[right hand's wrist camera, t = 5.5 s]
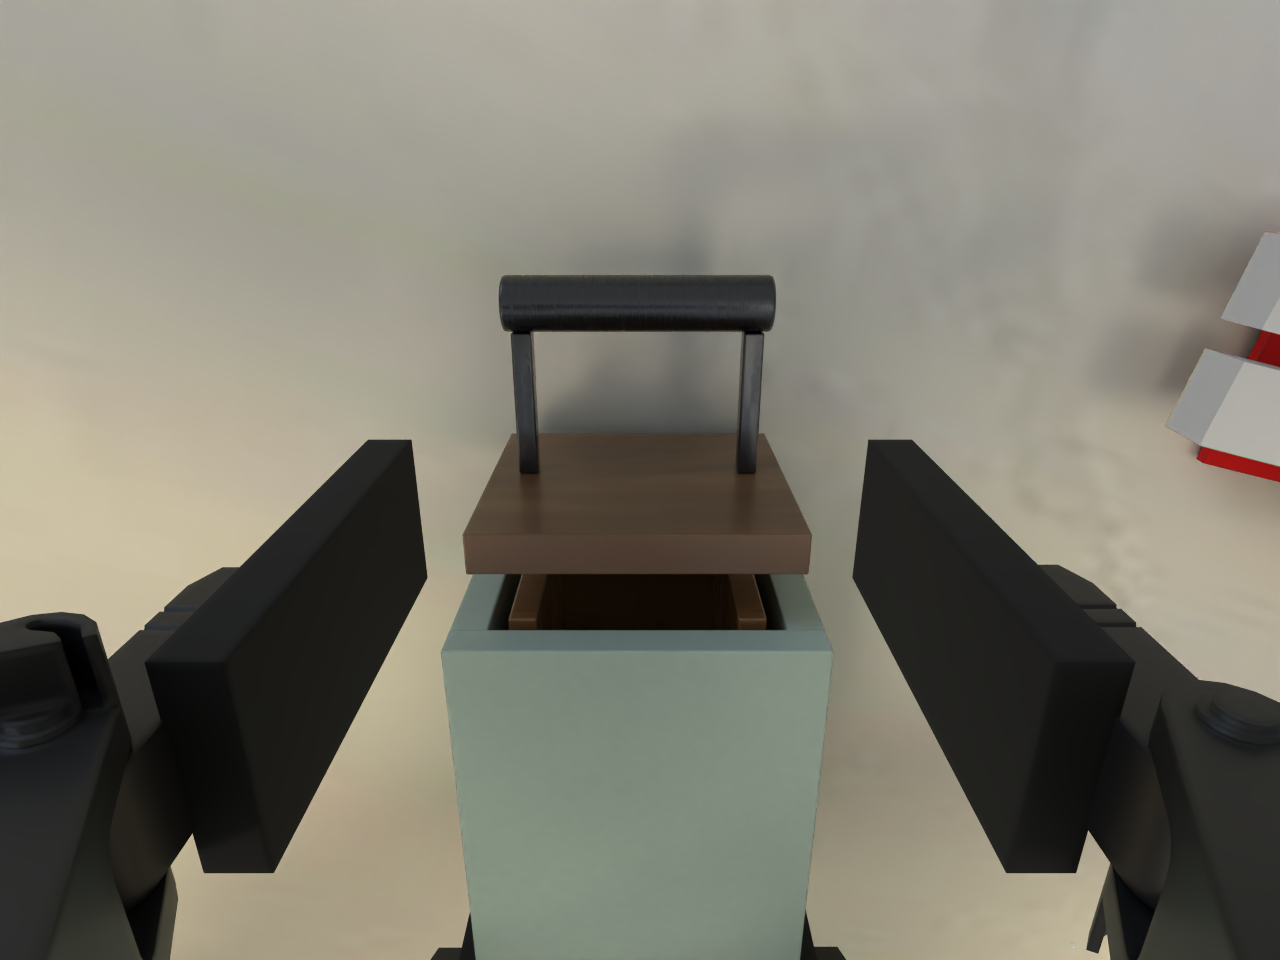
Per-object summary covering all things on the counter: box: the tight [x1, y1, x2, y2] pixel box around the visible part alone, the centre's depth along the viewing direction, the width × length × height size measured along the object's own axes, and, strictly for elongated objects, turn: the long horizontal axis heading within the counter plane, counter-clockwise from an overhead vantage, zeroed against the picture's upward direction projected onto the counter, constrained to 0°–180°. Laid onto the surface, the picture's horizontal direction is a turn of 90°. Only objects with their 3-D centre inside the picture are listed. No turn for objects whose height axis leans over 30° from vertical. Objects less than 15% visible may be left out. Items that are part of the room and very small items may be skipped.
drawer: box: [463, 275, 812, 630], centre depth 26 cm, size 22×9×8 cm, turn 0°
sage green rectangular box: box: [441, 574, 834, 960], centre depth 28 cm, size 18×10×10 cm, turn 0°
